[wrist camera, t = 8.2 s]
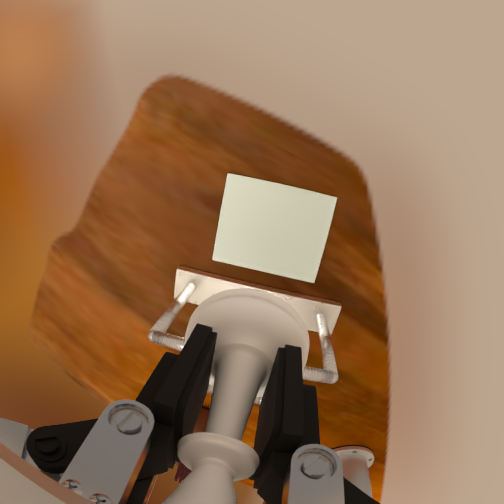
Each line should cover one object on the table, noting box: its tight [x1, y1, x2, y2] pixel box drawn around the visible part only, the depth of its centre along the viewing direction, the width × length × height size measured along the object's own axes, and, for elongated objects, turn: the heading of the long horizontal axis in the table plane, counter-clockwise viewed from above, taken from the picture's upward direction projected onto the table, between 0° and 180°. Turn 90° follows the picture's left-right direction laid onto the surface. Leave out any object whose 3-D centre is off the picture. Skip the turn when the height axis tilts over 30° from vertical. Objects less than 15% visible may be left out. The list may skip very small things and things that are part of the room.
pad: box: [212, 173, 337, 283], centre depth 32 cm, size 10×12×1 cm
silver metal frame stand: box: [148, 266, 342, 405], centre depth 27 cm, size 4×20×17 cm, turn 79°
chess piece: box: [161, 288, 309, 504], centre depth 7 cm, size 5×5×10 cm
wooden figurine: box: [175, 408, 209, 483], centre depth 36 cm, size 7×6×15 cm
